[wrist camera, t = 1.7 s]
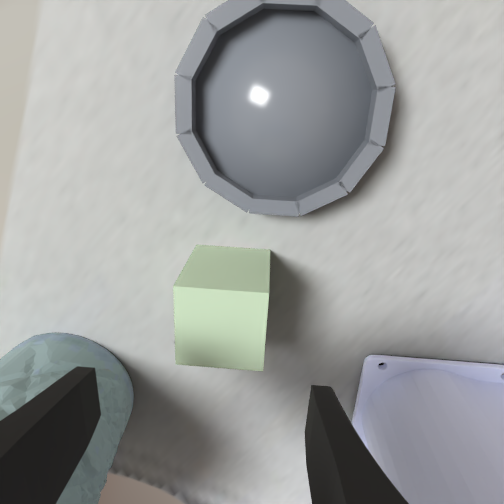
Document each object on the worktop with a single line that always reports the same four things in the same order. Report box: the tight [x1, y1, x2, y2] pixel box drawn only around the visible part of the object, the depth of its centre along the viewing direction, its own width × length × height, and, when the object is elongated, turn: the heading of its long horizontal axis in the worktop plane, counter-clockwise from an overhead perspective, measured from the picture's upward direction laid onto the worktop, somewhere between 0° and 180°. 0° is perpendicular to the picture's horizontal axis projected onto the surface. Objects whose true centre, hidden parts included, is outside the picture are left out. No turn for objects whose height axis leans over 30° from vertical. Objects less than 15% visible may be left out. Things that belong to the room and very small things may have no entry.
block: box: [173, 245, 270, 371], centre depth 18 cm, size 4×4×5 cm
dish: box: [175, 0, 396, 217], centre depth 16 cm, size 9×9×2 cm
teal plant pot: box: [0, 333, 134, 504], centre depth 18 cm, size 10×10×12 cm
